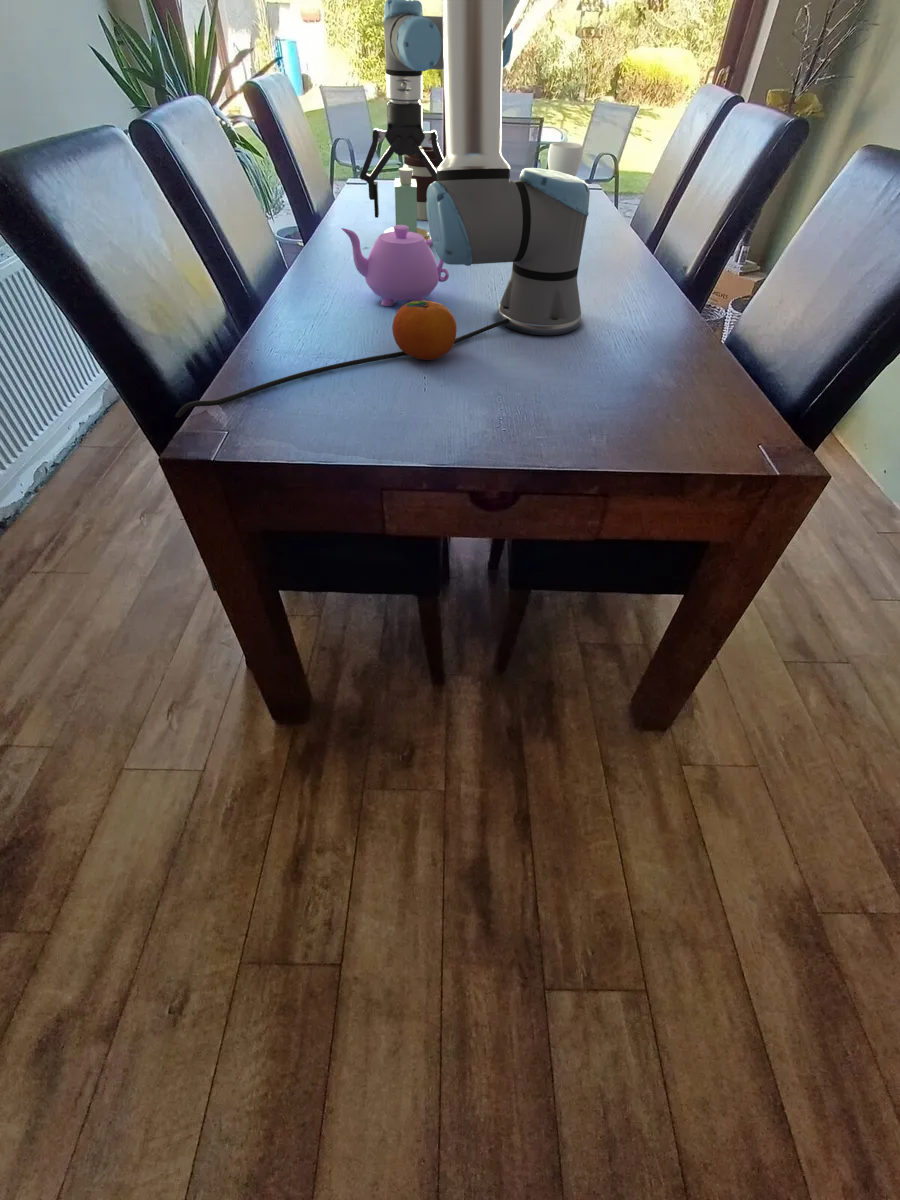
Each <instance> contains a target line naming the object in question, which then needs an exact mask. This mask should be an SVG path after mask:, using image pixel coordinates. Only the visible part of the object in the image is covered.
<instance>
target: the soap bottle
mask: <svg viewBox="0 0 900 1200" xmlns="http://www.w3.org/2000/svg"><path fill="white" fill-rule="evenodd" d="M397 173H398V176H399V178H394V209H395V210H394V211H395V214H394V215H395V226H396V225H406V226H408V227H409V230H408V232H414V233H418V234H420V235H422V236H423V237H424V239H425V240H426V239H428V236H429V232H428V231H427V230H425V229H423V228H421V227H418V219H417V185H416V179H411V176H413V169H412V168H408V165H407V164H403V165H402V167H398V170H397ZM392 231H394V229H393V227H389V228H387V229H386V230H384V232H383V233H386V232H392Z"/></svg>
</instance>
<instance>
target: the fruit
mask: <svg viewBox="0 0 900 1200" xmlns="http://www.w3.org/2000/svg"><path fill="white" fill-rule="evenodd" d="M391 329H392V336H393V339H394V341H395V343H396V345H397V346H398V349H400V351H403V352H404V353H406V354H407V356H409V357H412V358H415V359H417V360H421V361H422V360H424V361H431V360H436V359H439V358H441V357H443V356H445V355H446V354H447V353H449V351H451V349H452V348H453V347H454V345H455V344H454V342H455V339H456V338H457V329H458V326H457V321H456V318H455V316H454V315H453V313H452V312H451V311H450V309H449V308H448V307H447V306H446V305H444V304H443V303H440V302H435V301H432V300H425V299H424V300H423V301H412V300H411V301H409V302H407V303H405V304H404V305H402V306H401V307H400V308H399V309H398V310H397V311H396V312H395V316H394V317H393V321H392V328H391Z"/></svg>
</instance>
